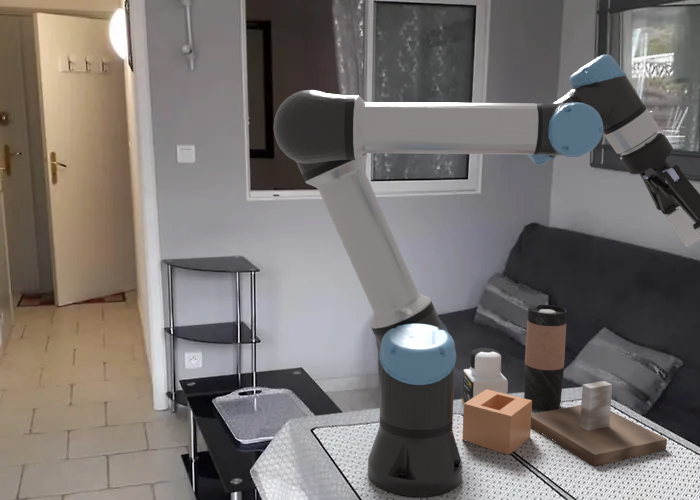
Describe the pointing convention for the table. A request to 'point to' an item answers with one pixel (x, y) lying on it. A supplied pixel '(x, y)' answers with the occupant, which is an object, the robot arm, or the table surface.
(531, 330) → the travel mug
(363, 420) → the table surface
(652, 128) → the robot arm
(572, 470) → the table surface
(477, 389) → the medicine bottle
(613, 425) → the stand
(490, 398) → the tan cube with window
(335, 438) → the table surface
